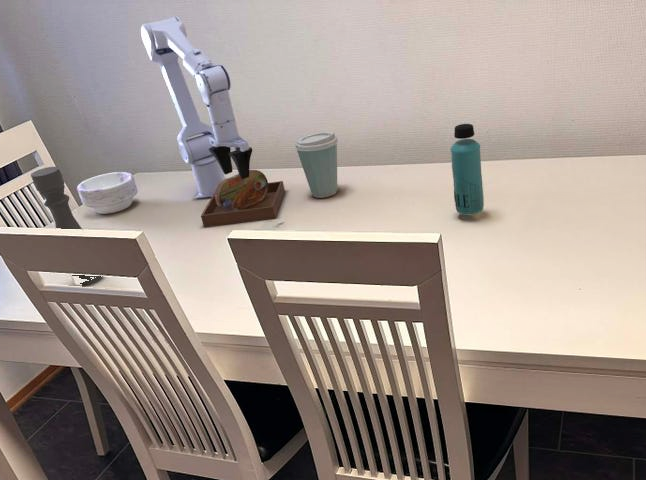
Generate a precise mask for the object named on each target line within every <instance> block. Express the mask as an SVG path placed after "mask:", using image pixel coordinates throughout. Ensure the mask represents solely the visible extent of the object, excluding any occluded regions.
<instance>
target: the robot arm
mask: <svg viewBox="0 0 646 480" xmlns="http://www.w3.org/2000/svg"><path fill="white" fill-rule="evenodd" d="M187 34H188V33H187V29H186V26H185V24H184V22H183V20H182V19H181V18H179V17H178V16H173V17H170V18H165V19H161V20H157V21H153V22H148V23H146V22H145V23H143V24H141V28H140V35H141V40H142V42H143V45H144V48H145V50H146V53H147V55H148V57H149V60H150V61H152V62H153V63H157V65H158V67H159V69H160V71H161V74H162V76H163V79H164V81H165V84H166V87H167V89H168V92H169V94H170V97H171V100H172V102H173V105H174V107H175V110H176V112H177V116H178V117H179V120H180V123H181V125H182V128H181V130H180V131H179V132H178V135H177V138H176V140H177V145H178V149H179V153H180V156H181V158H182V159H183V161H184V162H185V163H186V164H187V165H190V167H191V171H192V173H193V177H194V181H195V184H196V187H197V191H198V192H197V194H196V195H195V196H194V198H195V199H196V200H197V199H198V200H199V199H204V198H205V199H206V198H212V196H213V194H214V193H215V189H216V187H217V185H218V184H219V183H220V182H221V181H223V180H225V179H226V176H225V175H229V174H231V173H233V163H232V161H233V162H234V164H235V167H236V170H237V174H239V175H240V177H241V179H245V178H248V177H249V170H250V166H251V165H250V162H251V157H252V153H253V148H252V146H251V147H250V145H249V141H247V140H245V139H244V138H242V137H241V135H240V134H239V130H238V126H237V122H236V118H235V113H234V110H233V109H234V108H233V105H232V101H231V96H230V93H229V91H230V90H231V88H232V87H231V86H232V83H231V78H230V75H229V72H228V71H227V69H226V68H225V66H224V65H223V64H221V63H219V64H218V63H214V62H213V61H212V60H211V59H210V58H209V57H208V56H207V54H206V53H205V52H204V51H203V50H202V49H201V48H195V47H194V45H192V43H191V41H189V39H188V37H187ZM179 57H180V58H181V59H182V64H183V67H184V69H185V70H186V71H187V72H188V73H189V74H190V76H192V77H193V79H194V80H195V81H196V86H197V89H198V91H199V93H200V95H201V97H202V101H203V103H204V104H206V105H205V106H206V108H207V112H208V116H209V119H210V123H211V125H210V124H207V123H204V122H202V121H201V119H200V116H199V113H198V110H197V108H196V105H195V103H194V100H193V97H192V95H191V92H190V90H189V87H188V84H187V82H186V79H185V77H184V73H183V71H182V68H181V65H180V63H179ZM194 136H195V137H194ZM231 149H235V150H233V151H232V150H231Z"/></svg>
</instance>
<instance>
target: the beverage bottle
mask: <svg viewBox="0 0 646 480" xmlns="http://www.w3.org/2000/svg"><path fill="white" fill-rule="evenodd" d="M453 135H454V138H455V139H458V140H457V141H455V142H454V143H453V144H452V145H451V147H450V154H451V170H452V180H453V185H452V186H453V199H454V202H453V203H454V208H455V211H456V212H457V213H458V214H460V215H474V214H479V213H480V212H482V211H483V210H484V206H485V201H484V198H485V197H484V196H485V194H484V186H483V183H484V182H483V174H482V160H481V159H482V158H481V157H482V156H481V144H480V143H479V142H478V141H476V140H475V139H473V138H472V137H474V136H475V129H474V125H473V124H472V123H461V124H457V125H456V126H455V127H454V133H453Z"/></svg>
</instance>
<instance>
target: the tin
mask: <svg viewBox="0 0 646 480" xmlns="http://www.w3.org/2000/svg"><path fill="white" fill-rule="evenodd" d="M268 181H269V180H268V178H267V177H266V175H265V174H264V172H262V171H260V170H258V169H249V177H248V178H245V179H241V177H240V175H239V173H237V174H235V175H232V176H229V177H228V178H225V180H223V181H221V182H220V183H219V184H218V185H217V187H216V189H215V200H216V203H217V205H218V207H219V208H220V209H222V210H224V211H226V212H230V211H237V210H243V209H246V208H248V207H250V206H252V205H255V204H257V203H259V202H261V201H262V200H263V199H264V198H265V197H266V195H267V192H268V183H269V182H268Z"/></svg>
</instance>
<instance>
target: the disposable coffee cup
mask: <svg viewBox="0 0 646 480" xmlns="http://www.w3.org/2000/svg"><path fill="white" fill-rule="evenodd" d="M338 142H339V140H338V137H337V136H336V135H335V132H334V131H330V130H329V131H328V130H327V131H320V132H315V133H311V134H308V135H304V136H303V137H300V138H299V139H298V140H297V141H296V143H295V149H296V151H297V154H298V157H299V161H300V164H301V166H302V169H303V172H304V175H305V178H306V181H307V184H308V187H309V190H310V193H311V194H312V196H313V197H314V198H319V199H321V198H328V197H332V196H334V195H336V194H337V192H338Z"/></svg>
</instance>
